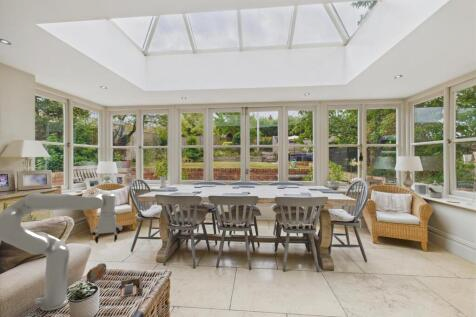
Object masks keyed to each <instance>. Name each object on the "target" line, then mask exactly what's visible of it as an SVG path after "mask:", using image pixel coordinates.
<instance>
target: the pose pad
mask: <svg viewBox="0 0 476 317" xmlns="http://www.w3.org/2000/svg"><path fill="white" fill-rule="evenodd" d="M124 293H125V286H124V287H121V294H120V295H121V296H120V298H125V297H130V296H133V295H134V296H135V295H137V284H136V285H133V293H130V294H125V295H124Z"/></svg>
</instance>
